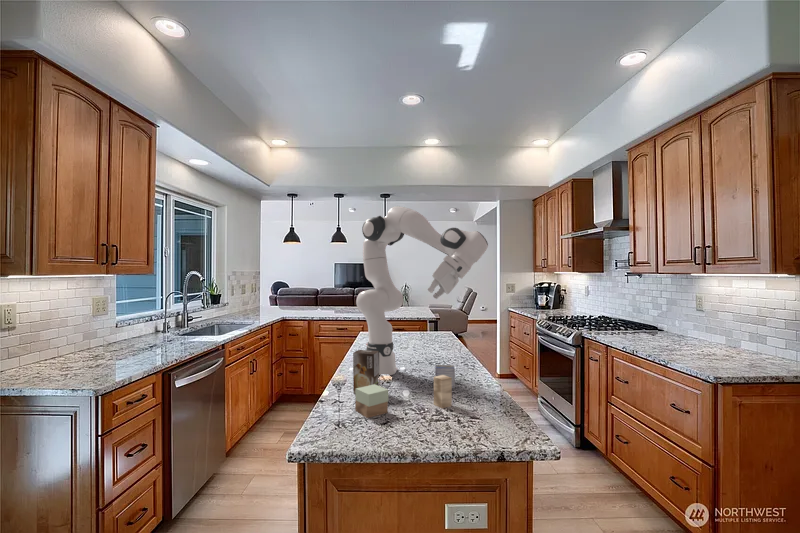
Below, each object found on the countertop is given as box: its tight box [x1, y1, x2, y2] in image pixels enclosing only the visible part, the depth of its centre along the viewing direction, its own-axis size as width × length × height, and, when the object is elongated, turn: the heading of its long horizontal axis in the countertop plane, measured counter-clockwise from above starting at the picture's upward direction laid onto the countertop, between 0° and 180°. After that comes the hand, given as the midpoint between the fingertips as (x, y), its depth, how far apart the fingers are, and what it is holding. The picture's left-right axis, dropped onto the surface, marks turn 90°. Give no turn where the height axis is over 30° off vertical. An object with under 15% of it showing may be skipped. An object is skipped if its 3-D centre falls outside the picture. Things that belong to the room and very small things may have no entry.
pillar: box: [433, 375, 453, 409], centre depth 142 cm, size 4×4×10 cm
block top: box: [354, 384, 389, 407], centre depth 136 cm, size 8×8×4 cm
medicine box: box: [434, 364, 456, 390], centre depth 164 cm, size 8×4×9 cm, turn 84°
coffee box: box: [352, 349, 380, 395], centre depth 157 cm, size 9×6×16 cm
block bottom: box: [354, 400, 389, 419], centre depth 136 cm, size 8×8×4 cm
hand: (431, 294), depth 153 cm, fingers open, 8 cm apart
